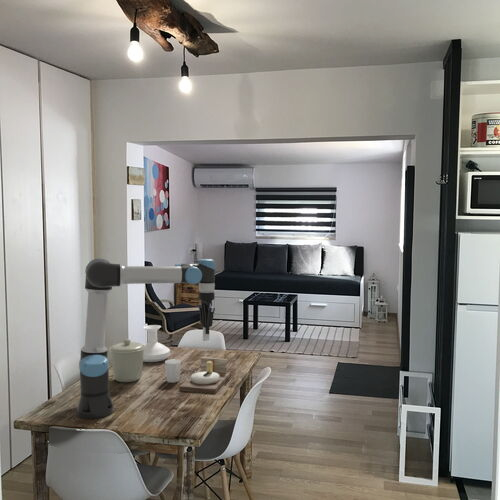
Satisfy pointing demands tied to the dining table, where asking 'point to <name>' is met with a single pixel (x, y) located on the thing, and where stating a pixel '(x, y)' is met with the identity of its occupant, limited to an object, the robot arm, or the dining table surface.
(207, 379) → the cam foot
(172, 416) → the dining table surface
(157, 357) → the white vase
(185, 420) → the dining table surface
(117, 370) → the canister
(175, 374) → the white cup
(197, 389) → the stand
